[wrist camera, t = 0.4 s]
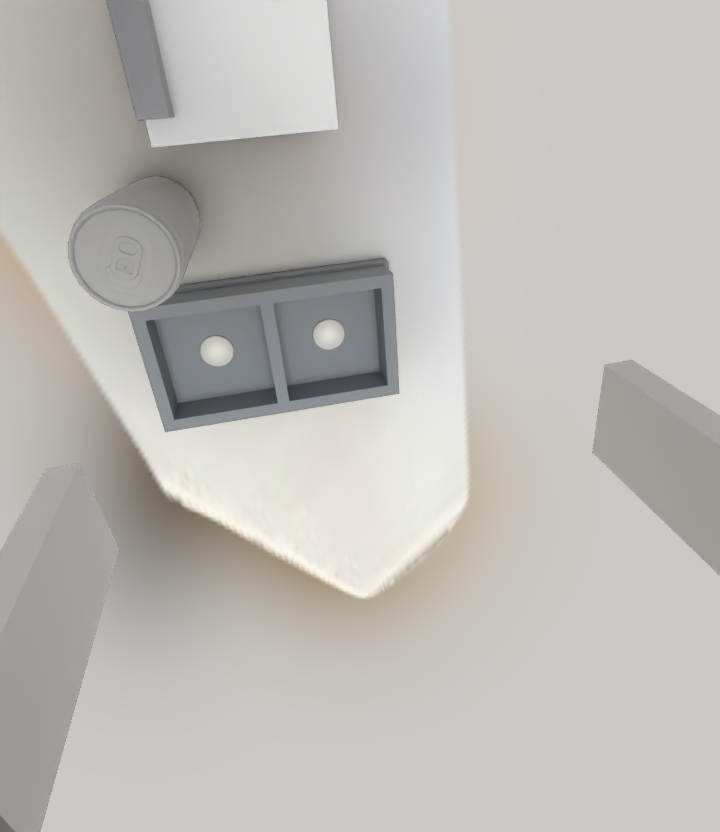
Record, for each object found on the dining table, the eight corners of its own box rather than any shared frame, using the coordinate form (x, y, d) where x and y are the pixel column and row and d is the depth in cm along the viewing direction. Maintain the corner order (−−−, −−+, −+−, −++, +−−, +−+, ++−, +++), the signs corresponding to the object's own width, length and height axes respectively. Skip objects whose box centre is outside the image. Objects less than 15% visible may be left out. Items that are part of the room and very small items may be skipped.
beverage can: (113, 242, 34) (57, 297, 23) (126, 162, 32) (71, 183, 22) (192, 266, 35) (172, 327, 25) (209, 191, 33) (194, 223, 23)
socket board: (131, 291, 35) (121, 307, 32) (384, 258, 37) (397, 270, 34) (167, 411, 40) (161, 435, 37) (391, 375, 42) (403, 395, 39)
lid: (94, -99, 23) (73, -131, 20) (313, -109, 24) (323, -140, 21) (154, 146, 28) (144, 149, 25) (335, 128, 29) (346, 129, 26)
